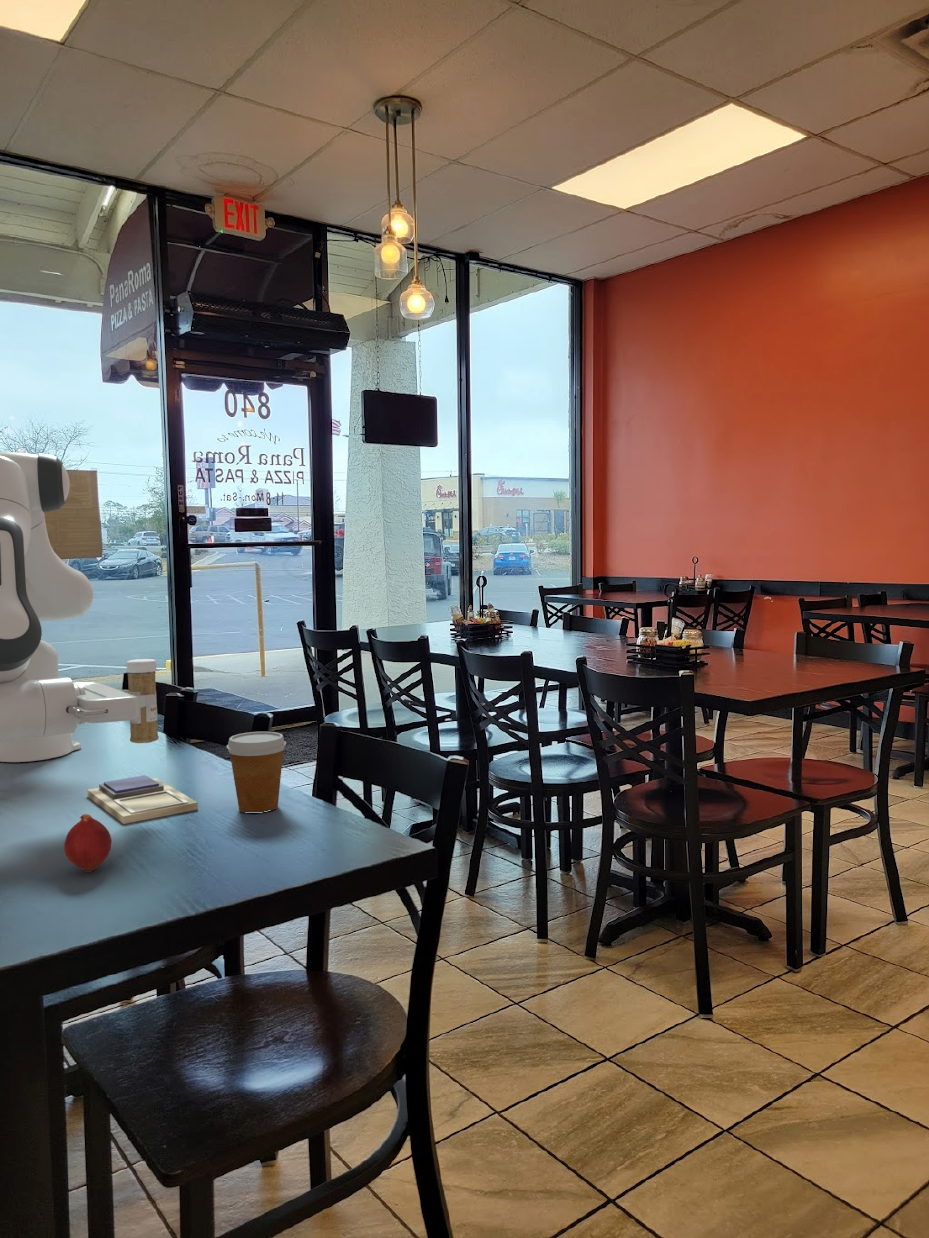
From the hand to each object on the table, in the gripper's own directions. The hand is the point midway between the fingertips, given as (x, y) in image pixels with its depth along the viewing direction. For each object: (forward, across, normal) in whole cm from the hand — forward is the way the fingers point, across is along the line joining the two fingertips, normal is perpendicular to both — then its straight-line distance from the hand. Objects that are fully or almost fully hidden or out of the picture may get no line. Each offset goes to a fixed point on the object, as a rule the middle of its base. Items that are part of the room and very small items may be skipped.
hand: (148, 697), depth 147 cm
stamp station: (0, +4, +19) cm, 19 cm away
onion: (-16, -24, +19) cm, 35 cm away
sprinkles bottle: (-1, 0, +7) cm, 7 cm away
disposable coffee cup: (+14, -11, +19) cm, 26 cm away
